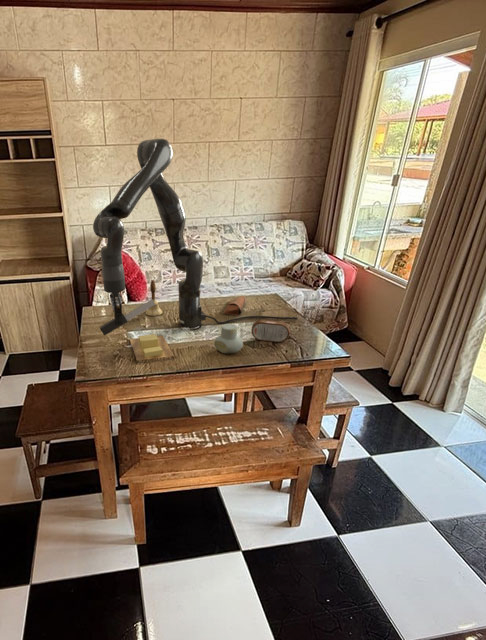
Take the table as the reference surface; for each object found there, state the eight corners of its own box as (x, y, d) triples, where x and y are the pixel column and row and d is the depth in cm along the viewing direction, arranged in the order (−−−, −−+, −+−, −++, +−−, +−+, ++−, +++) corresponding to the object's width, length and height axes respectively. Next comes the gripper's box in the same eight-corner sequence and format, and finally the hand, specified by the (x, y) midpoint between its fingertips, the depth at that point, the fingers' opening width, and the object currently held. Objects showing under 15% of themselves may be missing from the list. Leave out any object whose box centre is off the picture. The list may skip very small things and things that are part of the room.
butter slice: (160, 346, 156) (162, 349, 153) (160, 350, 157) (162, 354, 154) (142, 349, 154) (144, 352, 151) (142, 353, 155) (145, 357, 152)
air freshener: (210, 348, 160) (211, 325, 155) (225, 343, 164) (226, 319, 159) (230, 358, 152) (232, 333, 147) (246, 352, 156) (247, 327, 151)
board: (162, 337, 170) (162, 335, 170) (173, 358, 153) (173, 355, 153) (129, 341, 168) (129, 339, 168) (137, 363, 151) (136, 360, 150)
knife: (104, 335, 149) (99, 328, 148) (103, 333, 151) (99, 326, 150) (156, 305, 148) (152, 298, 147) (155, 303, 150) (150, 296, 148)
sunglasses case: (228, 301, 206) (235, 290, 203) (239, 308, 206) (247, 297, 203) (223, 313, 191) (230, 302, 188) (235, 321, 191) (243, 310, 188)
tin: (289, 341, 163) (291, 321, 159) (288, 344, 161) (291, 324, 157) (251, 337, 168) (252, 318, 164) (250, 340, 165) (251, 320, 161)
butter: (156, 342, 164) (155, 334, 162) (158, 347, 160) (158, 339, 158) (139, 344, 163) (138, 336, 161) (141, 349, 159) (140, 341, 157)
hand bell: (144, 311, 199) (142, 278, 191) (160, 309, 201) (159, 277, 193) (147, 316, 192) (145, 283, 184) (164, 314, 194) (163, 281, 186)
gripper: (127, 281, 136) (131, 329, 144) (121, 270, 147) (125, 315, 156) (104, 283, 134) (110, 331, 143) (101, 272, 146) (106, 318, 155)
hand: (118, 323), depth 149 cm, fingers closed on knife, 2 cm apart
